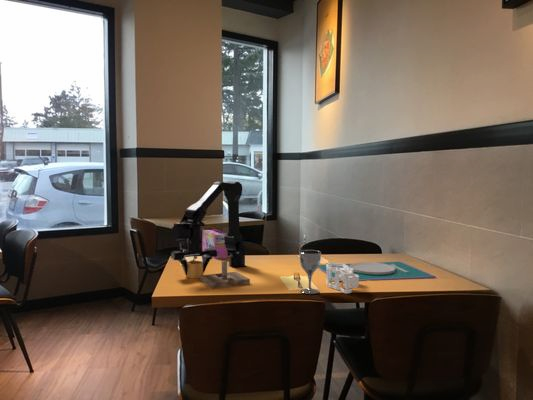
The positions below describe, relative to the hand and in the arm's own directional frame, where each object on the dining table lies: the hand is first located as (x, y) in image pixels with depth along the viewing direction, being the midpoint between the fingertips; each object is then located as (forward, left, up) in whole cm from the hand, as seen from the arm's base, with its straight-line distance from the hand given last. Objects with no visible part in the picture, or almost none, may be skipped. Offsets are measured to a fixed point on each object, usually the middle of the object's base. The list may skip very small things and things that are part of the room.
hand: (194, 274), depth 190 cm
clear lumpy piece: (-47, +39, -1) cm, 61 cm away
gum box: (-24, -40, -1) cm, 46 cm away
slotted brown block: (-8, +14, -1) cm, 16 cm away
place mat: (-76, +23, -2) cm, 79 cm away
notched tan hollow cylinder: (0, 0, -1) cm, 1 cm away
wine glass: (-32, +40, -1) cm, 51 cm away
